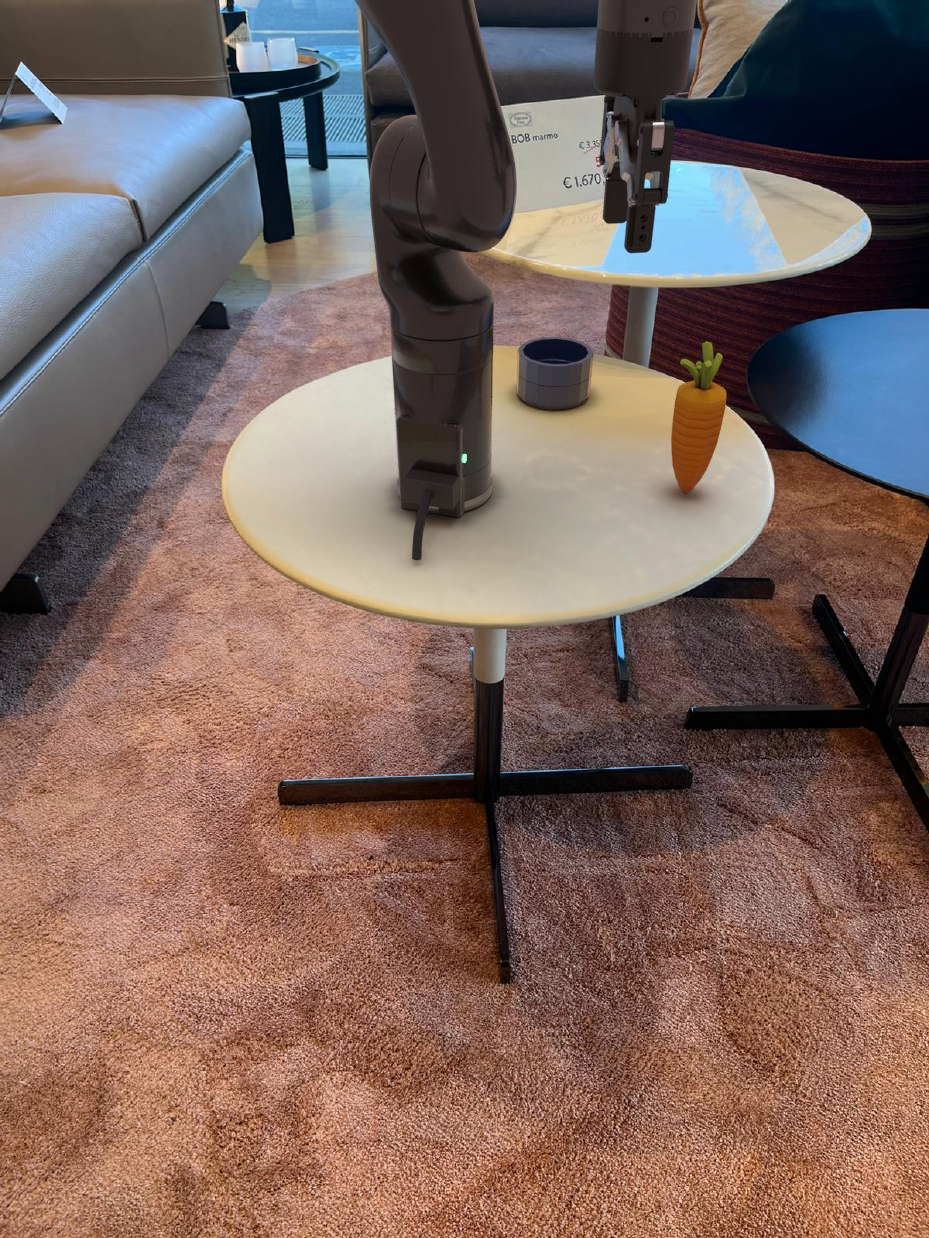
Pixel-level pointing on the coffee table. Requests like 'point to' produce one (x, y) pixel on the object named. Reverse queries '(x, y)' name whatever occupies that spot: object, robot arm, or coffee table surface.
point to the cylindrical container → (554, 372)
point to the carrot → (697, 420)
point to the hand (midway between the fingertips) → (625, 236)
